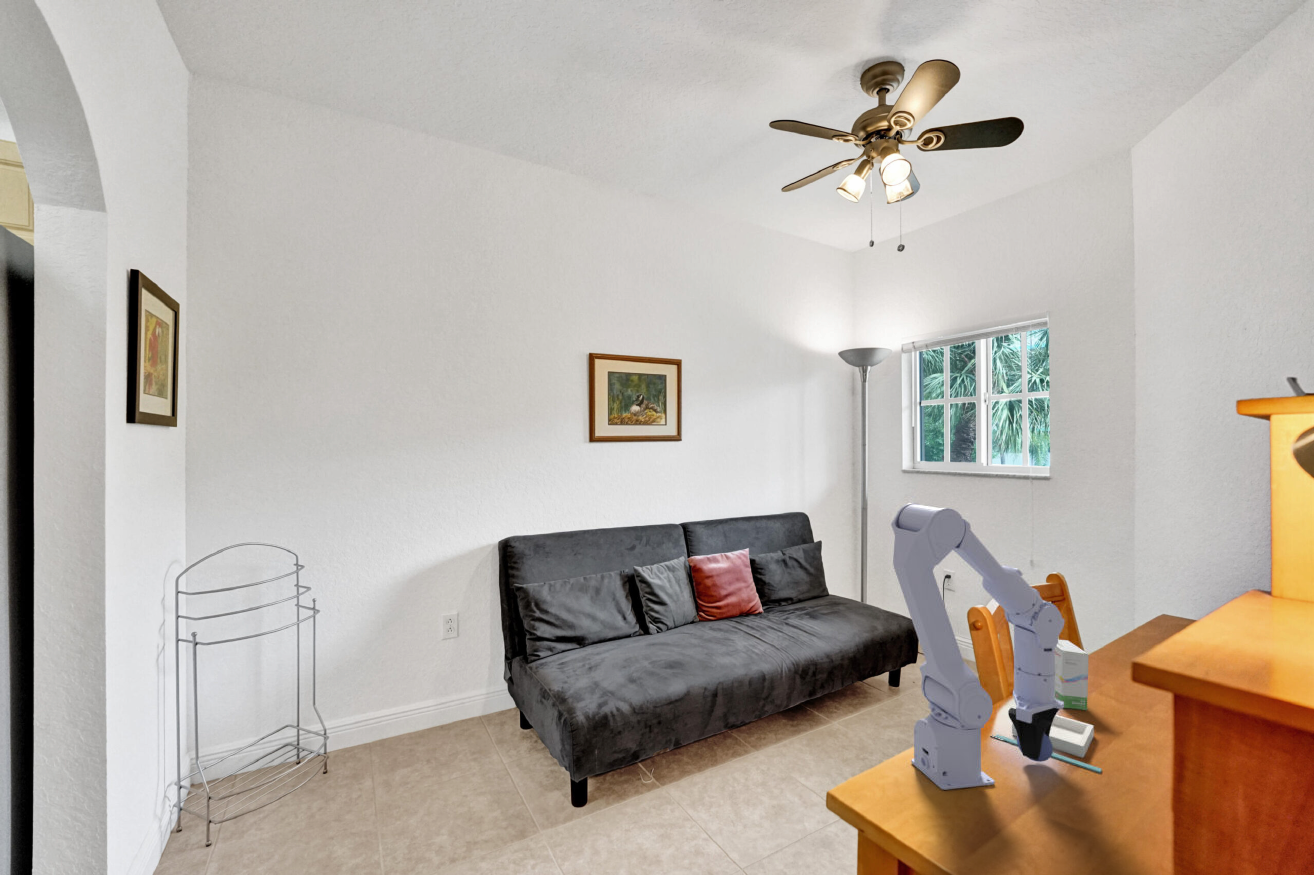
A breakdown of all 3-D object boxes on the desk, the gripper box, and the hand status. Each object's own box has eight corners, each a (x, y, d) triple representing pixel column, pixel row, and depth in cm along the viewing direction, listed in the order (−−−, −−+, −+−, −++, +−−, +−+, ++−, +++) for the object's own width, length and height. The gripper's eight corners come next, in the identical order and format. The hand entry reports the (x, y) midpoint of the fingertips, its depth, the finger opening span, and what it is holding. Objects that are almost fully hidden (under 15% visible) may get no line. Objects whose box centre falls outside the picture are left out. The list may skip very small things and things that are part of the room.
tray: (1083, 758, 95) (1083, 746, 95) (1012, 735, 102) (1012, 724, 102) (1093, 736, 102) (1093, 725, 102) (1026, 716, 110) (1026, 706, 110)
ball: (1034, 769, 90) (1034, 738, 90) (1009, 752, 95) (1009, 723, 95) (1060, 766, 90) (1060, 735, 91) (1034, 750, 95) (1034, 721, 96)
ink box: (1041, 691, 122) (1041, 637, 122) (1067, 693, 121) (1067, 638, 121) (1061, 708, 113) (1061, 650, 113) (1090, 711, 112) (1089, 652, 112)
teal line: (990, 736, 102) (990, 734, 102) (992, 734, 102) (992, 732, 102) (1100, 773, 90) (1100, 771, 90) (1101, 770, 91) (1101, 768, 91)
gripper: (1053, 689, 85) (1054, 778, 85) (1071, 665, 95) (1072, 744, 95) (1001, 675, 90) (1001, 759, 90) (1023, 653, 100) (1024, 729, 100)
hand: (1034, 751), depth 93 cm, fingers closed on ball, 5 cm apart
